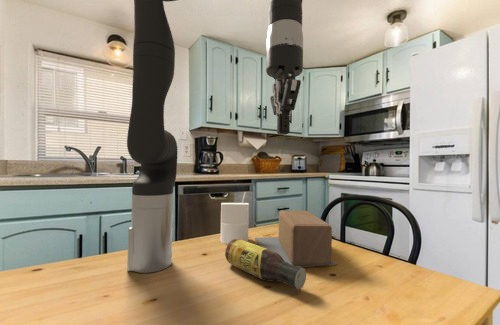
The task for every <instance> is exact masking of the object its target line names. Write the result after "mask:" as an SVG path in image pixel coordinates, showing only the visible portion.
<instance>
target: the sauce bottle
mask: <svg viewBox="0 0 500 325" xmlns="http://www.w3.org/2000/svg"><path fill="white" fill-rule="evenodd" d="M226 245H227V246H226V248H225V252H224V253H225V254H224V256H225V260H226V261H227V262H228V263H229V264H231V265H232V266H234V267H235V268H238V269H240V270H241V271H244V272H246V273H248V274H250V275H253V276H254V277H256V278H259V279H260V280H262V281H269V282H275V283H276V282H281V283H284V284H287V285H289V286H290V287H291V288H293V289H296V290H301V289H302V288H304V286H305V282H306V280H307V271H306V269H305V267H300V266H294V265H291V264H289V263H288V262H285V261H284V260H283V258H282V257H281V256H280V255H279V254H278V253H276V252H273V251H271V250H269V249H266V248H263V247H260V246H259V244H258V245H257V244H254V243H251V242H249V241H248V242H247V241H244V240H240V239H234V240H232V241H230V242H229V244H226Z"/></svg>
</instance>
